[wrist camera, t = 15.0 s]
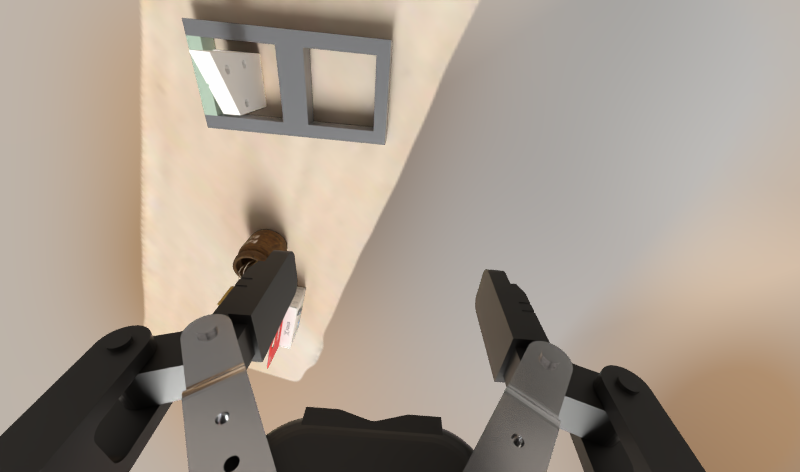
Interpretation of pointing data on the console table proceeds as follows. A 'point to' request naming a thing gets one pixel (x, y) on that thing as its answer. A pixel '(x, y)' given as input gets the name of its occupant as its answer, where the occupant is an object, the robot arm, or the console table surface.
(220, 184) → the console table surface
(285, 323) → the ink cartridge box
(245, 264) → the utensil holder
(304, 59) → the port panel
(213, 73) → the white wedge bracket
